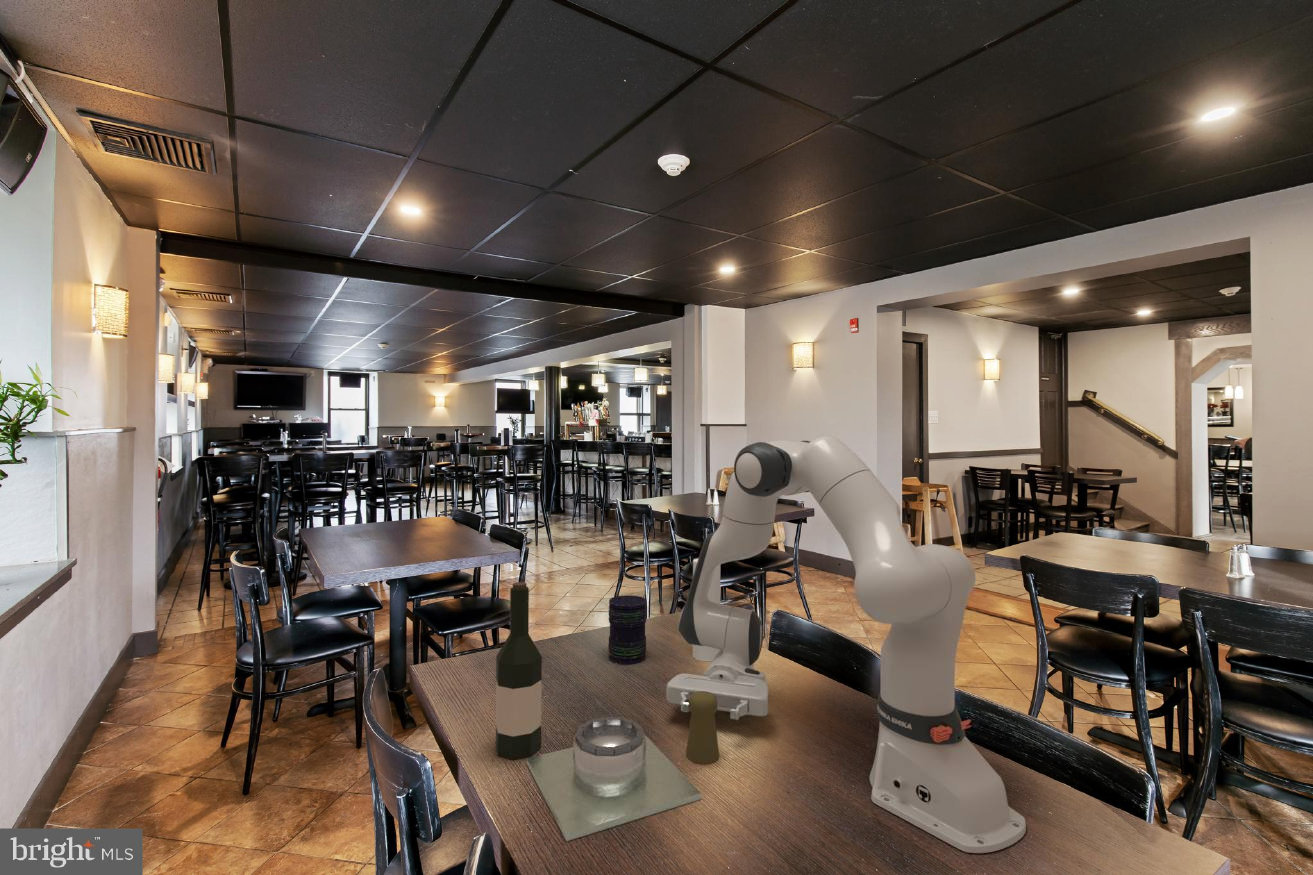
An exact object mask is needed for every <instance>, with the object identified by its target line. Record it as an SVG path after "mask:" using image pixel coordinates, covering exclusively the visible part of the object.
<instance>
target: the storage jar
mask: <svg viewBox="0 0 1313 875" xmlns="http://www.w3.org/2000/svg"><path fill="white" fill-rule="evenodd" d="M608 604H609V605H608V623H609V636H608V653H609V655H608V660H609V662H611V661H612V662H613V663H612V662H611V663H612V664H615V663H617V664H616V665H619V664H620V666H633V664H634V665H638V664H637V663H639V664H642V663H643V662H645V661H646V660H647V655H646V653H647V636H646V623H647V613H648V612H647V599H646V598H645V597H643V596H638V595H632V594H631V595H630V594H629V595H617V596H614V597H611V598H610V599H609V600H608ZM644 660H645V661H644ZM642 661H643V662H642Z"/></svg>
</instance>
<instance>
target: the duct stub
mask: <svg viewBox="0 0 1313 875" xmlns="http://www.w3.org/2000/svg"><path fill="white" fill-rule="evenodd" d="M644 731H645V730H644V728H643V727H642V725H640V724H639V723H638V721H636V720H633V719H630V718H626V717H623V716H603V717H598V718H593V719H589V720H587V721H586V722H584V723H583V724H581V725H579V726H578V728H577V730H576V733H575V734H574V736H573V742H572V746H571V747H569V748H564V749H559V750H556V751H551V752H548V753H544V754H539V755H538V754H537V755H533V756H531V757H527V758H526V766H527V767H528V770H529V771H530V773H531V775H532V777H533V779H534V781H535V783H536V786H537V788H538V789H539V791H540V793H541V794H542V798H544V799H543V800H544V801H545V803H546V804H547V806H548V808H549V810H550V812H551V814H552V816H553V818H554V820H555V822H556V824H557V826H558V828H559V830H560V832H561V834H562V836H563V838H564V840H565V841H566V842H570V841H572V840H576V839H579V838H581V837H585V836H588V835H592V834H595V833H598V832H601V831H604V830H608V829H610V828H613V827H617V826H621V825H624V824H627V823H630V822H632V821H636V820H641V819H643V818H646V817H649V816H652V815H656V814H659V813H662V812H665V811H669V810H671V809H674V808H677V807H681V806H684V805H688V804H690V803H694V802H696V801H699V800H702V792H701V791H700V790H699V789H698V788H697V787H696V786H695V785H694V783H693V782H691V781H690V780H689V779H688V778H687V777H686V776H685V775H684V773H683V772H681V770H680V769H679V768H677V766H676V765H674V763H673V762H672V761H671V760H670V759H669V758H668V757H667V756H666V755H665V754H664V752H662V751H661V750H660V749H659V748H658V746H656V744H655V743H654V742H653V741H652V740H651V739H650V738H649V737H648V736H647V735H646V733H645V732H644Z"/></svg>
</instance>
